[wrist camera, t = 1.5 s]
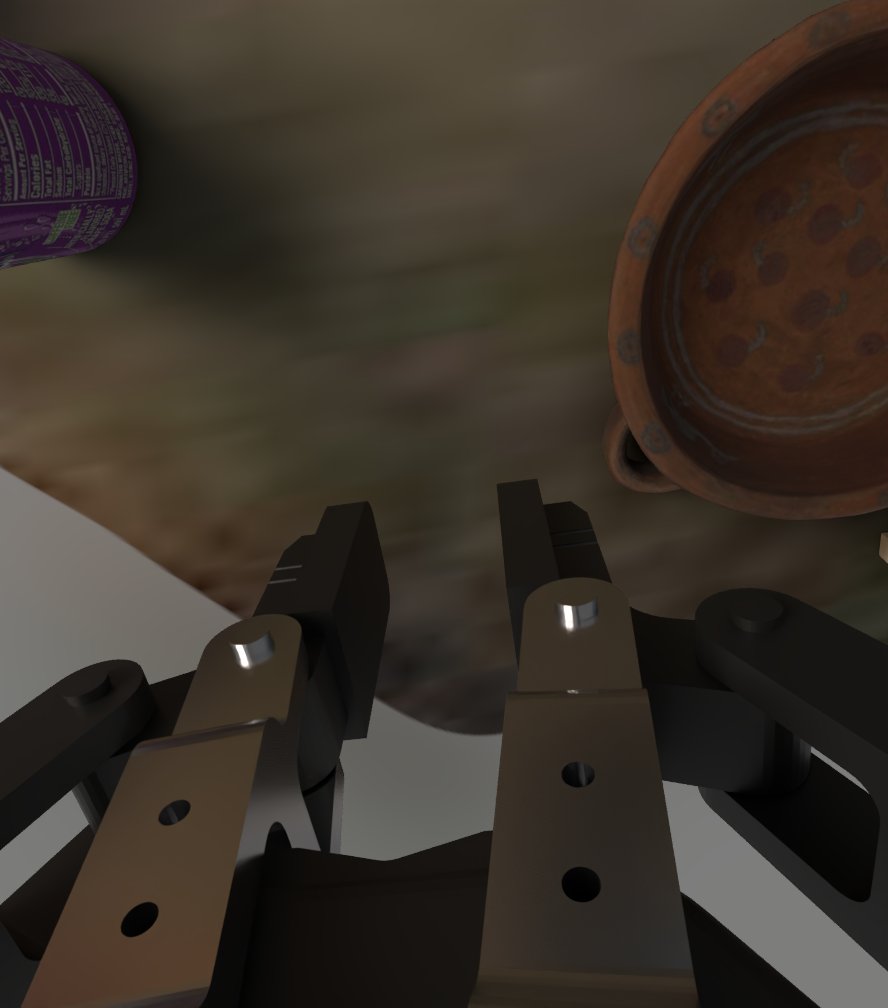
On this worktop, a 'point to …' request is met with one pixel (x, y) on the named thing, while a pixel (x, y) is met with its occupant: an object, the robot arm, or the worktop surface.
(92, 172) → the beverage can
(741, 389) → the dish
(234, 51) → the worktop surface
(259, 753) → the robot arm
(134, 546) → the worktop surface
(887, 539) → the rack
